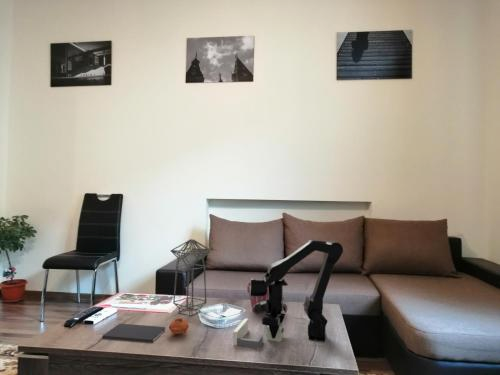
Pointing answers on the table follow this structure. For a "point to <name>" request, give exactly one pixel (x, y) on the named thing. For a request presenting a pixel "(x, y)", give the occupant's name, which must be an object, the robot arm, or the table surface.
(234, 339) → the cleat board
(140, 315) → the table surface
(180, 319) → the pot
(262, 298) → the plant pot
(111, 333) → the notebook
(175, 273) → the geometric lantern
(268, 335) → the cabinet block
